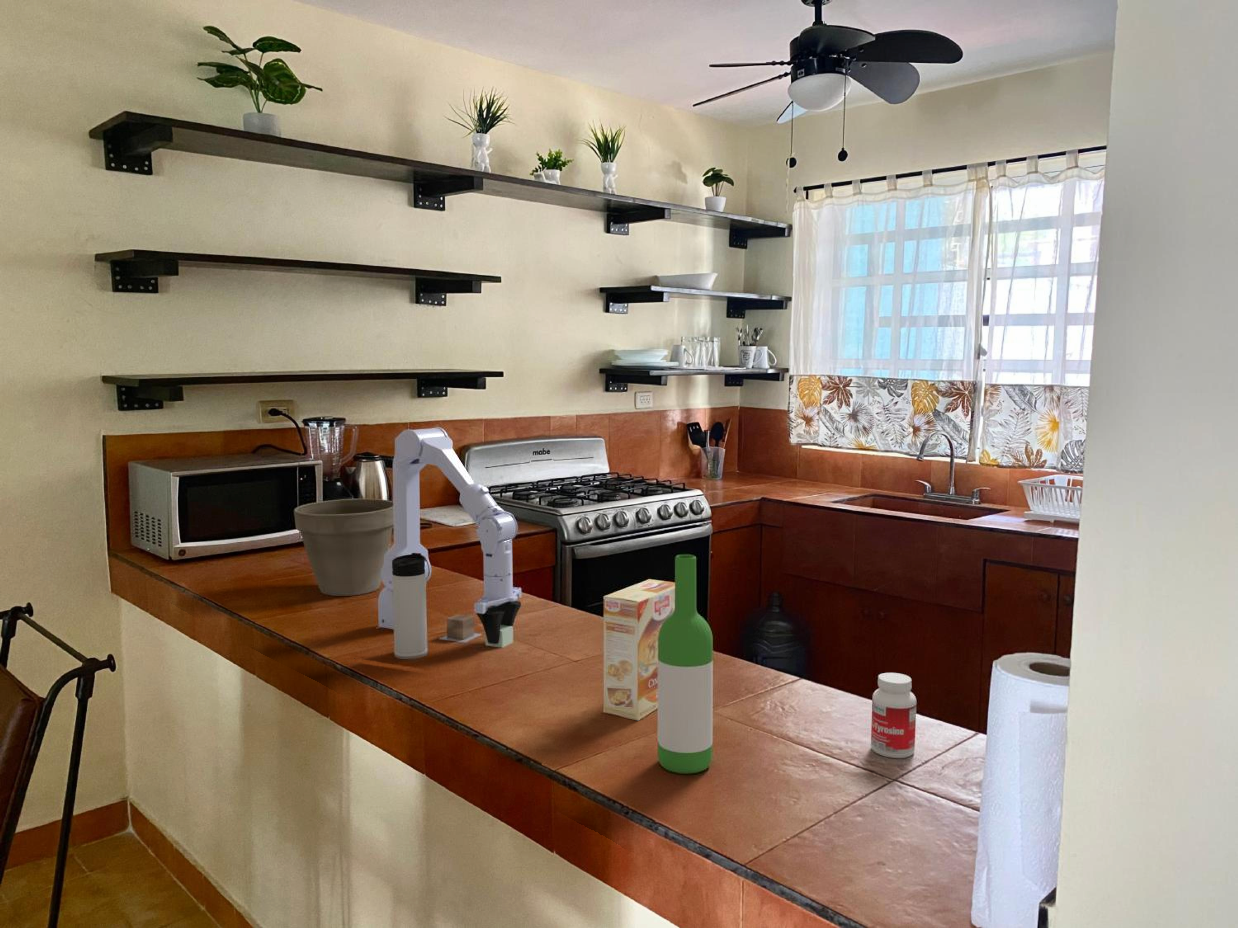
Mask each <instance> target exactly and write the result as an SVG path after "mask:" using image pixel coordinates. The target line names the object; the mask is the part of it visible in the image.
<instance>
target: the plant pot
mask: <svg viewBox="0 0 1238 928" xmlns="http://www.w3.org/2000/svg"><path fill="white" fill-rule="evenodd" d="M293 516H294V523H295V529H296V530H297V531H299V533H300V536H301V538H302V541H303V545H304V548H305V551H306V554H307V557H308V560H309V563H310V566H311V568H312V572H313V575H314V578H315V580H316V583H317V586H318V588H319V591H320V593H322V594H323V595H327V596H332V597H349V596H351V597H352V596H360V595H365V594H369V593H372V592H375V591H377V590H378V589H379V588H380V587H381V583H382V579H381V569H382V566H383V563H384V555H385V553H386V552H387V551H388V550H389V549H390V548H389V546H390V543H391V538H392V534H393V529H394V523H393V500H387V499H380V498H345V499H344V498H343V499H332V500H331V499H330V500H324V501H323V500H322V501H316V502H311V503H306V504H302V505H299V506H297V507H295V508H294V509H293Z"/></svg>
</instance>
